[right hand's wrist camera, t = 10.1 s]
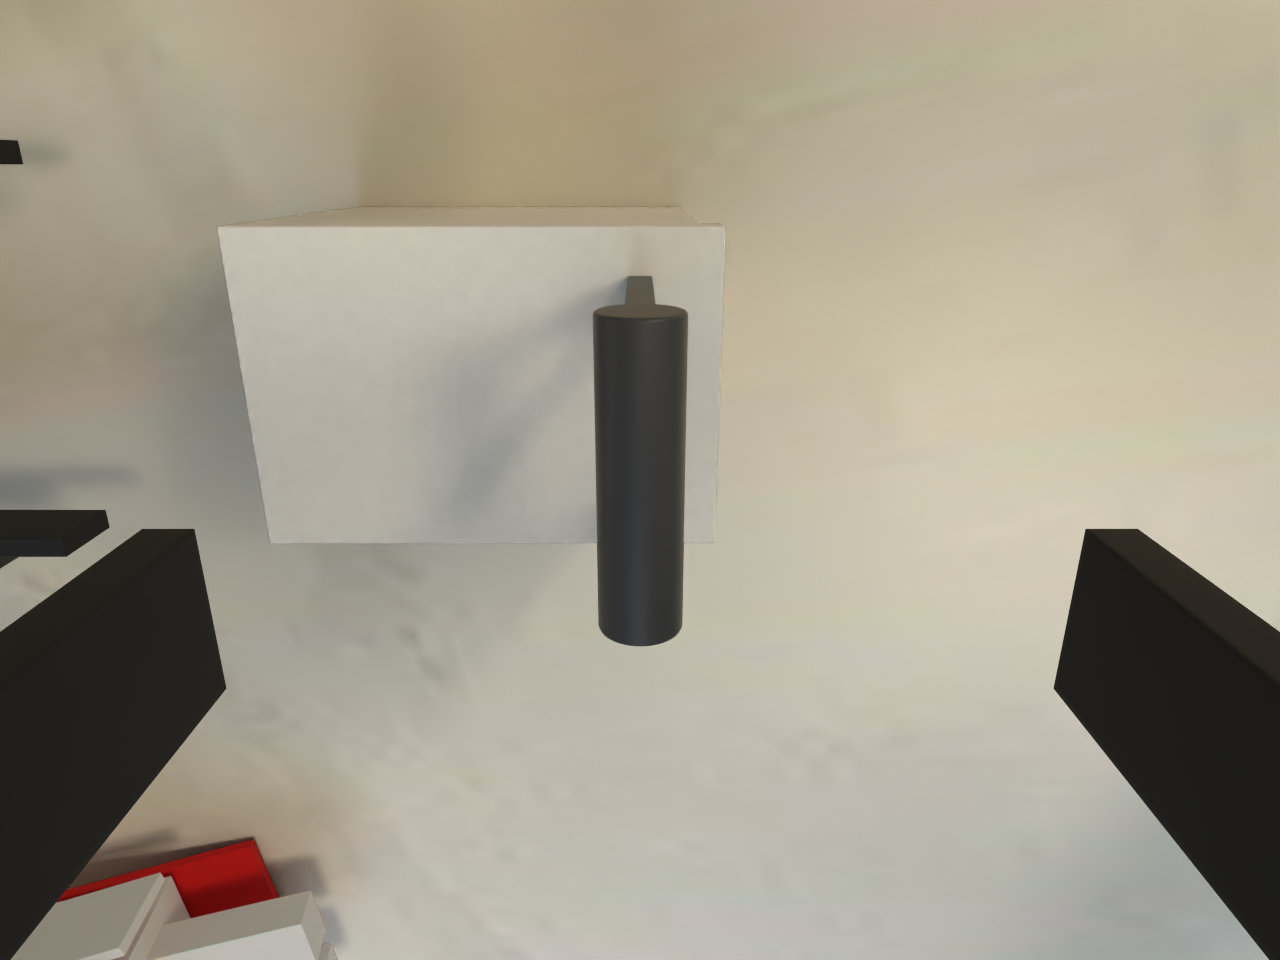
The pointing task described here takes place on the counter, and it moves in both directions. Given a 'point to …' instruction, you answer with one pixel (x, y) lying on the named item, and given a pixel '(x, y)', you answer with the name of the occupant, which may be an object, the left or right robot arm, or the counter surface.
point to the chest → (493, 215)
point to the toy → (183, 915)
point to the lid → (489, 390)
